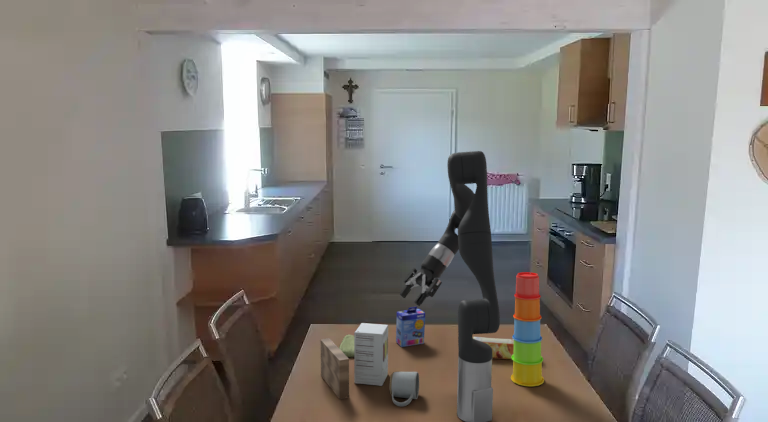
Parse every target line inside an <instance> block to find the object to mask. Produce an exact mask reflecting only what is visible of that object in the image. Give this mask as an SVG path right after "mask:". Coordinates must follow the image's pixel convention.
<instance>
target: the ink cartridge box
mask: <svg viewBox="0 0 768 422" xmlns="http://www.w3.org/2000/svg"><path fill="white" fill-rule="evenodd" d="M425 326H426V312H425V311H424V310H422V309H420V308H418V305H416V306H411V307H408V308H407V309H405V310H398V311H396V327H395V328H396V331H395V333H396V334H395V342H396V343H397V345H398V346H399V347H400V348H404V347H410V346H416V345H423V344H425Z"/></svg>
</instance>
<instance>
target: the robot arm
mask: <svg viewBox="0 0 768 422" xmlns="http://www.w3.org/2000/svg"><path fill="white" fill-rule="evenodd" d="M487 165H488V163H487V159H486V155H485V153H484V152H483V151H481V150H475V151H474V150H473V151H461V152H454V153H451V154H450V155H449V156H448V157H447V166H446V168H447V176H448V177H447V178H448V181H449V185H450V190H451V193H452V197H453V200H454V204H453V205H454V210H453V212H452V213H451V215H450V217H449V220H448V224H447V227H446V229H445V231H444V233H443V234H442V236H441V238H440V239H439V240H438V241H437V243H436V244H435V245H434V246H433V247H432V249H430V251H429V252H428V254H427V255H426V257H425V258H424V259H423V261H422V262H421V264H420V269H419V270H417V269H416V268H415V267H413V268H412V269H411V270H410V272H409V273H408V274H407V276H405V278H404V280H403V283H404V284H405V285H404V287H403V288H402V290H401V291H400V292H399V296H400V297H401V298H403V299H406V297H407V296H408V295H409V294H410V292H411V291H412V289H414V288H415V287H416V288H417V287H421V292H420V293H419V295H418V296H417V298H416V299H415V301H414V304H415V305H416V306H417V307H420V306H421V305H422V304H423V303H424V302H425V300H426V299H427V298H428V297H430V298H433V297H434V296H435V294H436V293H437V291H438V290H439V288H440V286H441V285H442V284H443V282H442V281H441V280H440V278H441V277H442V276H443V274H444V273H445V271H446V269H447V268H448V267H449V266H450V264H451V262H452V261H453V259H454V257H455V256H456V254H457V253H458V252H459V254H460V257H461V259H462V261H464V263H465V265H466V267H468V269H469V270H470V271H471V274H473V277H475V279H476V281H477V283H478V286H479V288H480V290H481V294H482V299H479V298H478V299H463V300H461V301H460V302H459V304H458V308H457V330H458V331H457V333H458V336H457V339H458V340H457V342H458V344H457V345H458V357H457V388H456V389H457V391H456V392H457V394H456V396H457V397H456V398H457V400H456V416H457V417H458V418H459V419H460V420H461V421H463V422H492V421H493V403H494V402H493V399H494V388H493V386H492V381H493V380H492V378H493V377H492V374H493V373H492V371H493V358H492V348H491V347H490V346H489V345H488V344H486V343H484V342H481V341H478V340H475V339H473V337H474V336H473V335H482V334H483V335H484V334H485V335H487V334H495V333H497V332H498V330H499V329H500V323H501V318H500V317H501V315H500V306H499V298H498V294H497V287H496V281H495V280H496V279H495V273H494V271H495V270H494V259H493V239H492V230H491V221H490V213H489V201H488V198H489V197H488V196H489V195H488V167H487ZM472 184H475V185H476V187H475V188H476V189H475V191H473V190H472V189H471V188H470V187H469V186H467V185H472ZM456 229H457V233H456V232H455V231H456Z"/></svg>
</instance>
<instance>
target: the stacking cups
mask: <svg viewBox="0 0 768 422" xmlns="http://www.w3.org/2000/svg"><path fill="white" fill-rule="evenodd" d="M515 277H516V278H515V293H514V296H513V297H514V301H515V303H514V314H513V315H512V316H513V319H514V323H513V324H514V325H513V326H514V327H513V331H514V332H513V335H512V337H511V338H512V339H514V354H513V355H512V357H511V358H512V359H511V360H512V364H513V365H512V366H513V367H512V374H511V376H510V380H511V381H512V382H513V383H514V384H515V385H518V386H522V387H539V386H540V385H543V384H544V383H545V378H544V377H543V366H542V365H543V361H544V357H543V356H542V340H543V336H541V319H543V318H542V315H541V300H540V299H541V297H542V295H540V276H539V274H538V273H535V272H530V271H528V272H527V271H522V272H518V273H517V274H516V276H515Z"/></svg>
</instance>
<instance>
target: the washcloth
mask: <svg viewBox="0 0 768 422" xmlns="http://www.w3.org/2000/svg"><path fill="white" fill-rule="evenodd" d="M338 348H339V349H340V350H341V351H342V352H343V353H344V354H345V355H346V356H347V357H348V358H354V335H353V334H346V335H345V336H344V337H343V339H342V341H341V343H340V344H339V345H338Z"/></svg>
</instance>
